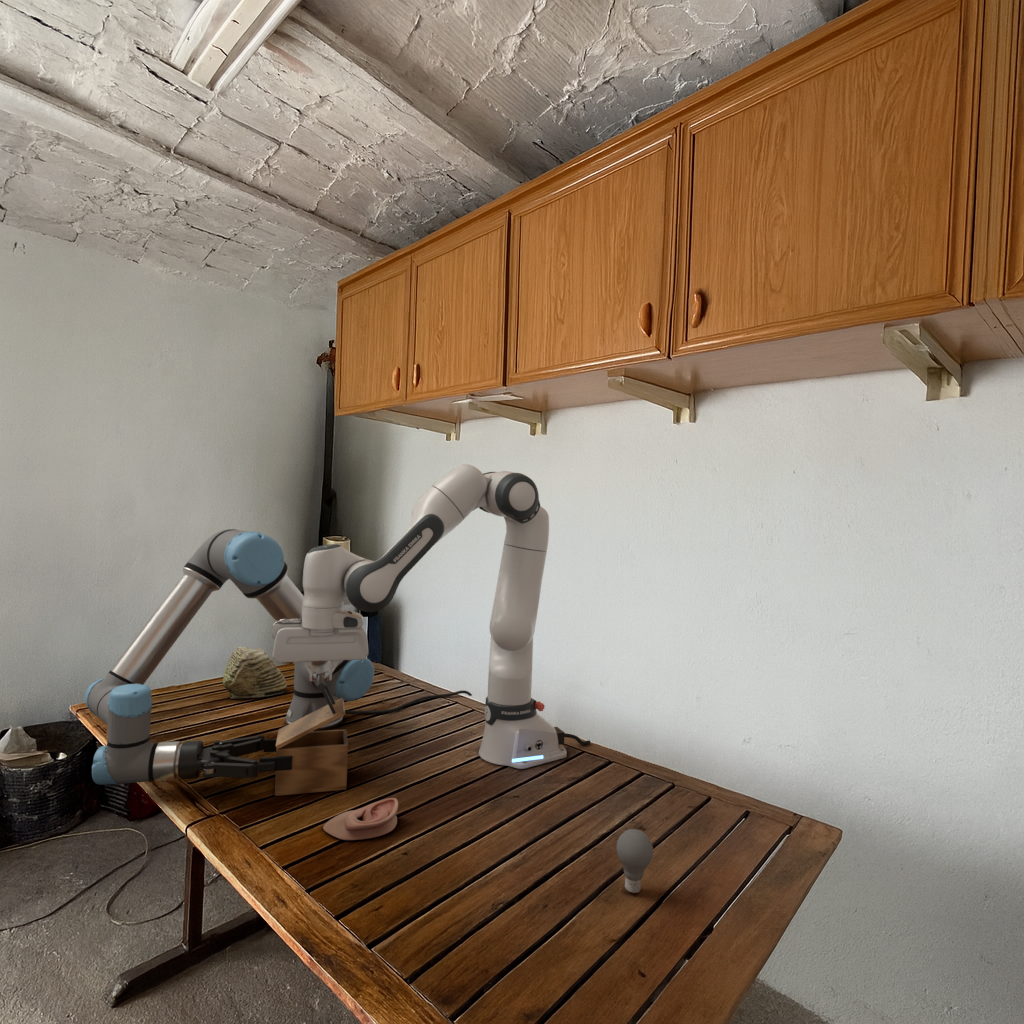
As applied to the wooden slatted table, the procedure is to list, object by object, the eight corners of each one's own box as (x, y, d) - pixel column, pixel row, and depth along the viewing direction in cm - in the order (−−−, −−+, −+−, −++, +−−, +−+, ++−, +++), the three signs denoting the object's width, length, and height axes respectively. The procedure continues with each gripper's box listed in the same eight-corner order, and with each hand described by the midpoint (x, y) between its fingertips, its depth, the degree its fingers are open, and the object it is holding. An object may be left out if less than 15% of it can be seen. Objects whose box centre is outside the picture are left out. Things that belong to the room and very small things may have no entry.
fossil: (218, 695, 195) (220, 647, 195) (278, 685, 208) (279, 640, 207) (228, 703, 189) (230, 653, 188) (289, 692, 201) (290, 645, 201)
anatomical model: (315, 814, 118) (343, 787, 129) (314, 835, 118) (343, 807, 129) (382, 825, 115) (405, 796, 127) (381, 846, 116) (404, 816, 127)
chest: (344, 770, 147) (346, 729, 147) (346, 789, 138) (348, 745, 137) (277, 776, 143) (279, 733, 142) (274, 796, 133) (276, 750, 133)
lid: (343, 700, 146) (328, 668, 145) (345, 714, 137) (328, 680, 136) (280, 732, 142) (263, 700, 141) (277, 749, 133) (259, 714, 132)
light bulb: (610, 879, 108) (613, 822, 108) (644, 879, 109) (647, 822, 109) (619, 902, 102) (622, 840, 102) (655, 901, 103) (658, 840, 103)
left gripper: (190, 756, 143) (294, 750, 149) (167, 803, 122) (289, 793, 128) (191, 723, 143) (296, 718, 149) (168, 764, 122) (291, 756, 128)
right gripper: (271, 621, 134) (269, 686, 134) (370, 619, 139) (368, 682, 140) (273, 616, 140) (271, 678, 140) (368, 614, 145) (366, 674, 146)
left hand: (293, 752), depth 139 cm, fingers closed on chest, 10 cm apart
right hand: (320, 680), depth 140 cm, fingers closed
